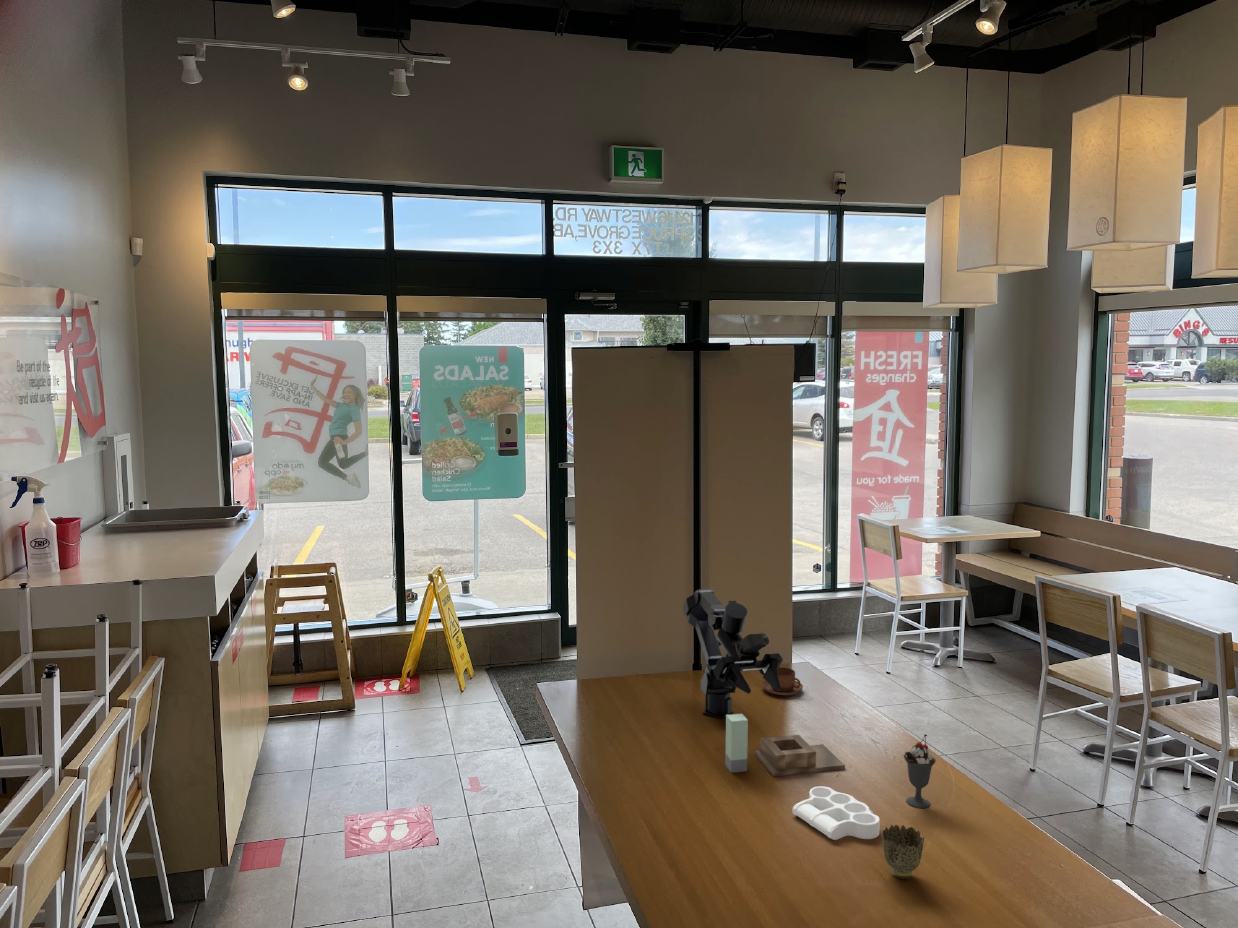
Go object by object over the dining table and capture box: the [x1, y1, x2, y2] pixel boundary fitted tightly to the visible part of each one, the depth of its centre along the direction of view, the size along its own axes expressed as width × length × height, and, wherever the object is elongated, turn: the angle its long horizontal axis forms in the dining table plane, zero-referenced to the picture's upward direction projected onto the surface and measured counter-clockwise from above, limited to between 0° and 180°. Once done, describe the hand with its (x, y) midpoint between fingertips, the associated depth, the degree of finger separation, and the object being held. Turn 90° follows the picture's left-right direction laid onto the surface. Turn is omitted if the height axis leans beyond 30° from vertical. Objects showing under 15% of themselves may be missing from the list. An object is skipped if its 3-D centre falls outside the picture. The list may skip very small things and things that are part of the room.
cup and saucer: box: [761, 666, 804, 696], centre depth 256 cm, size 12×12×6 cm
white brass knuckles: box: [791, 785, 881, 841], centre depth 181 cm, size 3×18×15 cm
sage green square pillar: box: [724, 713, 749, 774], centre depth 205 cm, size 4×4×12 cm
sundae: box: [903, 734, 937, 809], centre depth 188 cm, size 7×7×15 cm
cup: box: [881, 824, 925, 880], centre depth 161 cm, size 8×7×8 cm
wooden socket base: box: [754, 734, 846, 777], centre depth 209 cm, size 18×12×4 cm, turn 102°
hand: (764, 690), depth 214 cm, fingers open, 9 cm apart
